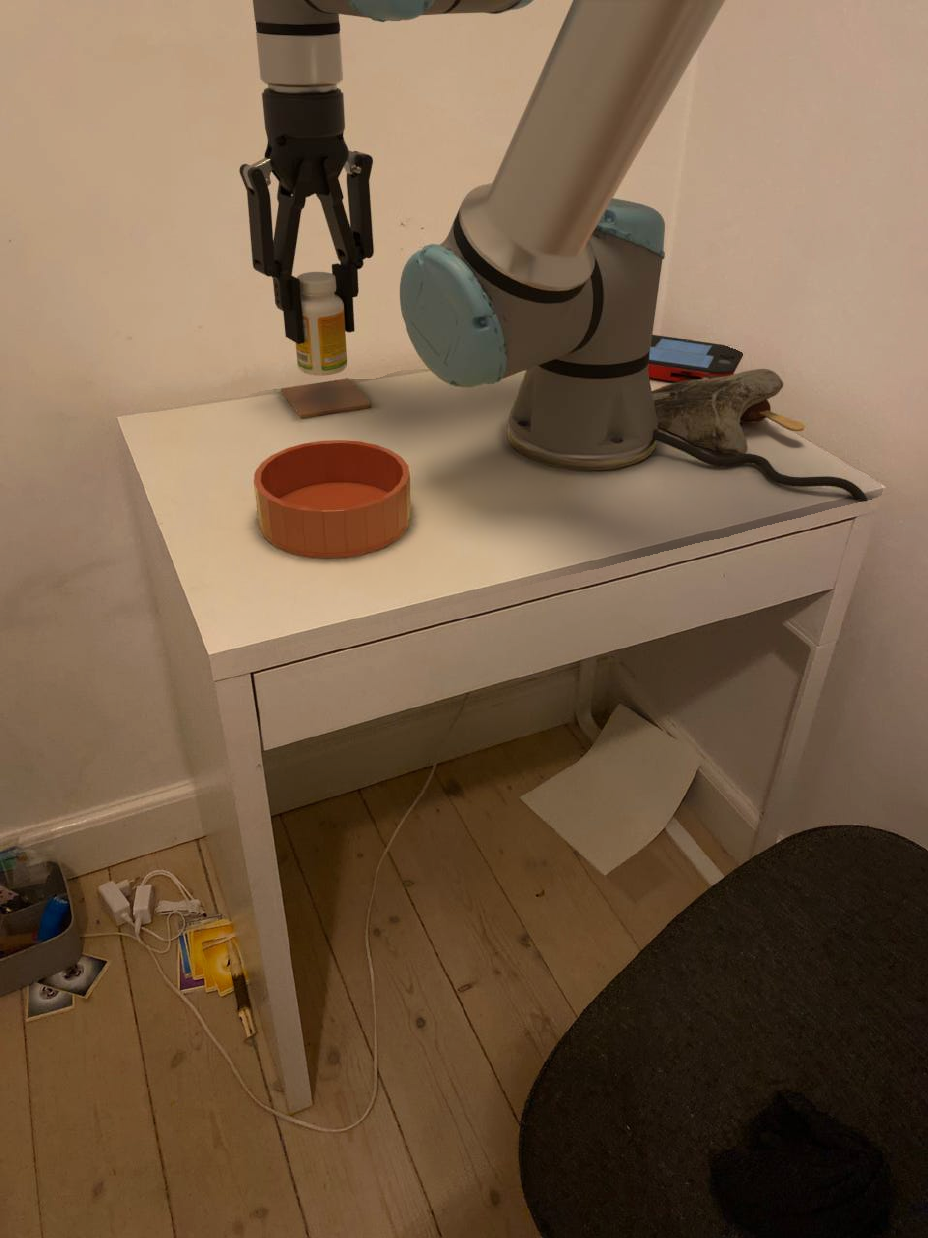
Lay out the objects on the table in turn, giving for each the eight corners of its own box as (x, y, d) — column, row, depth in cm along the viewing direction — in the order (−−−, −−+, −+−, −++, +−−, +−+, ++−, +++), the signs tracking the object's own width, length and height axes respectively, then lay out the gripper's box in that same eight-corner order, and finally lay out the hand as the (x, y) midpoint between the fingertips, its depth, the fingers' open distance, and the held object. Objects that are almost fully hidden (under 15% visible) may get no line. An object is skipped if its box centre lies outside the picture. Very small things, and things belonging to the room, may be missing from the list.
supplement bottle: (351, 359, 106) (347, 270, 100) (342, 378, 101) (336, 285, 96) (304, 357, 106) (296, 267, 100) (292, 375, 102) (283, 283, 96)
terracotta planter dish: (434, 500, 87) (434, 455, 84) (367, 572, 77) (365, 524, 74) (308, 473, 91) (304, 429, 88) (229, 538, 81) (222, 491, 79)
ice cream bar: (772, 452, 96) (679, 400, 107) (811, 443, 98) (715, 393, 109) (779, 421, 94) (683, 372, 105) (818, 414, 96) (721, 365, 107)
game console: (744, 356, 118) (748, 339, 117) (728, 394, 109) (731, 375, 108) (631, 339, 123) (633, 321, 121) (605, 373, 113) (608, 355, 112)
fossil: (645, 347, 104) (776, 350, 95) (659, 374, 108) (787, 379, 98) (604, 431, 101) (736, 442, 92) (620, 456, 105) (749, 469, 95)
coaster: (348, 381, 110) (348, 377, 110) (372, 407, 104) (371, 403, 104) (281, 391, 107) (280, 388, 107) (301, 418, 101) (300, 415, 101)
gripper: (364, 75, 95) (374, 308, 108) (191, 88, 86) (225, 340, 99) (407, 84, 90) (411, 327, 104) (228, 98, 81) (258, 362, 94)
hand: (320, 333), depth 101 cm, fingers closed on supplement bottle, 5 cm apart
